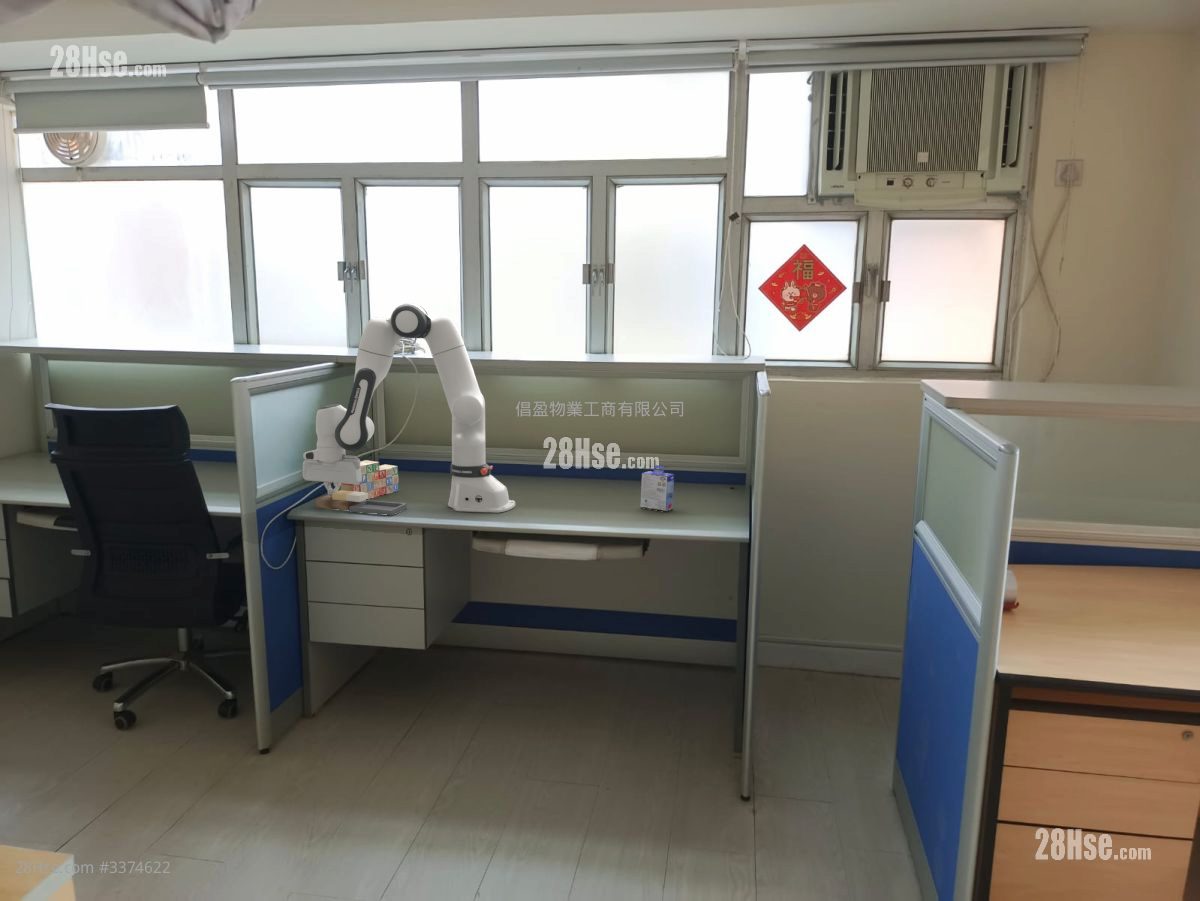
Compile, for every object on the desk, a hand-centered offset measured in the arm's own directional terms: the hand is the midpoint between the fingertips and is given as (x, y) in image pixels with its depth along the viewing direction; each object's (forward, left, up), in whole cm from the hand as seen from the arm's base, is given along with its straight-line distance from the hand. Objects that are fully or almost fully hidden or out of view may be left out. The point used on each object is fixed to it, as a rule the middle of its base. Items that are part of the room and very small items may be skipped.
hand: (333, 495), depth 267 cm
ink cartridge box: (-102, -32, -4) cm, 107 cm away
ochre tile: (-4, 0, -1) cm, 4 cm away
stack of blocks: (-3, -17, -4) cm, 18 cm away
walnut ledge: (-2, 0, -4) cm, 4 cm away
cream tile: (-9, 0, -1) cm, 9 cm away
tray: (-17, 0, -4) cm, 17 cm away
